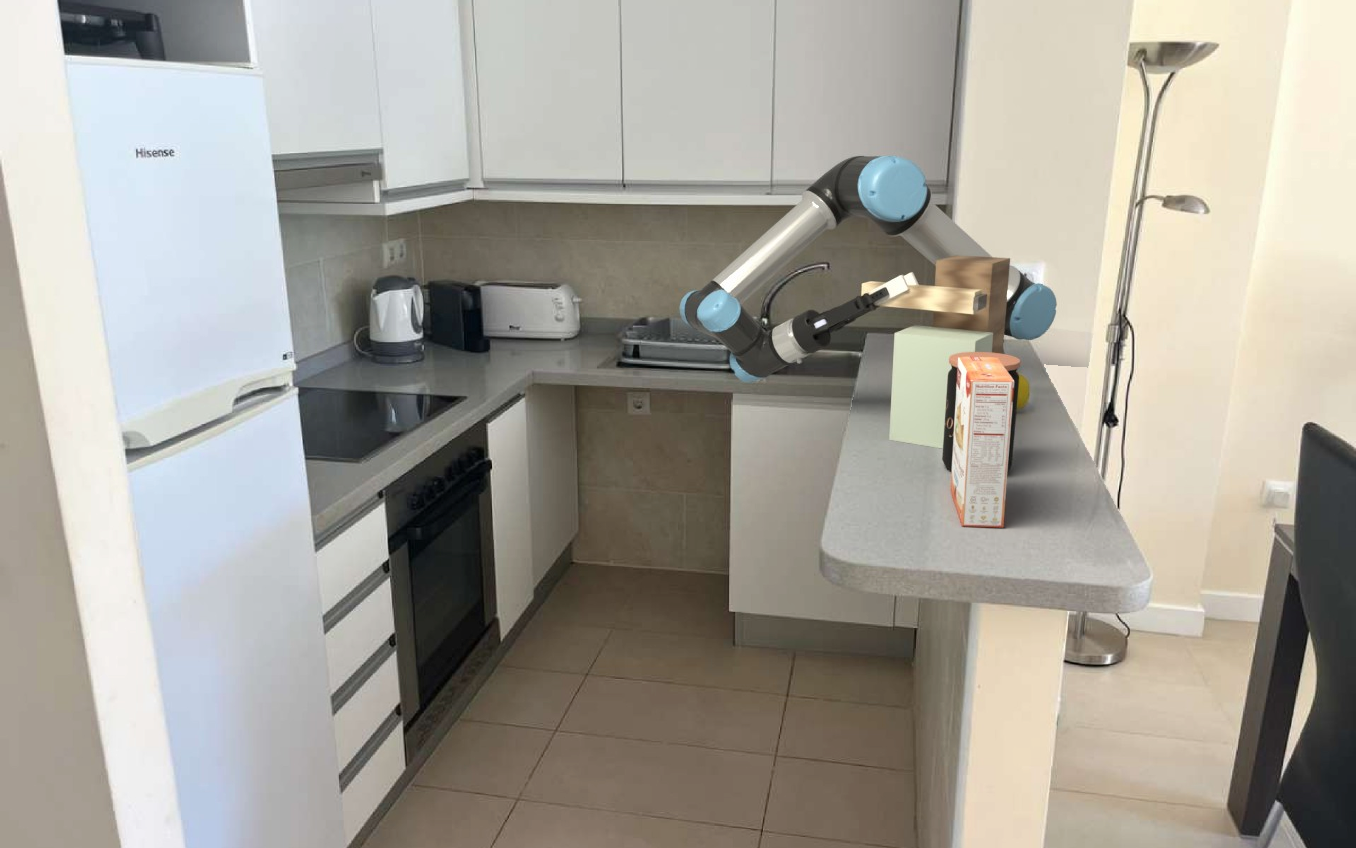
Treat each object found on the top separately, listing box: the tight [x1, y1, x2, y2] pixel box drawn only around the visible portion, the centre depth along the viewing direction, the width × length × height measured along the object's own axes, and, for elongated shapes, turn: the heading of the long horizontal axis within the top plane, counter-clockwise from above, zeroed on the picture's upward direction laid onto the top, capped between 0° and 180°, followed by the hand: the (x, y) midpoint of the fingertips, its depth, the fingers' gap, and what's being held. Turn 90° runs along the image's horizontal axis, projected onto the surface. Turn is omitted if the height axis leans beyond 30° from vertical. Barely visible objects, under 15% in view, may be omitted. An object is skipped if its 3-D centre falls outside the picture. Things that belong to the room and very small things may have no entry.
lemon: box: [1016, 371, 1031, 411], centre depth 191 cm, size 6×6×8 cm
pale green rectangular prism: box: [888, 324, 993, 450], centre depth 173 cm, size 14×9×19 cm, turn 55°
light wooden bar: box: [860, 280, 987, 314], centre depth 171 cm, size 21×4×4 cm, turn 55°
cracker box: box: [950, 357, 1014, 529], centre depth 139 cm, size 14×6×21 cm, turn 171°
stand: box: [931, 255, 1011, 354], centre depth 183 cm, size 12×12×30 cm
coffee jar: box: [941, 352, 1021, 473], centre depth 157 cm, size 11×11×18 cm
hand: (910, 280), depth 171 cm, fingers closed on light wooden bar, 4 cm apart
